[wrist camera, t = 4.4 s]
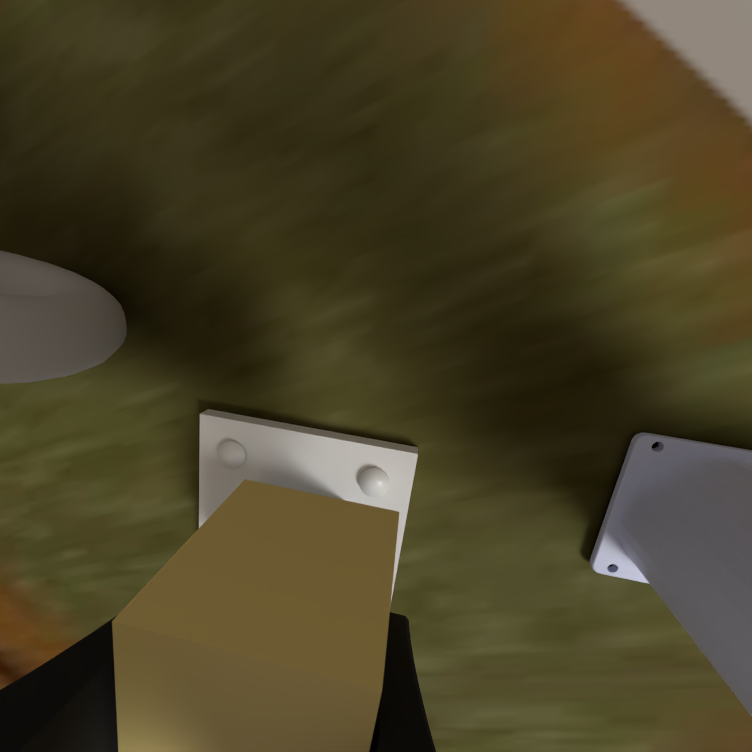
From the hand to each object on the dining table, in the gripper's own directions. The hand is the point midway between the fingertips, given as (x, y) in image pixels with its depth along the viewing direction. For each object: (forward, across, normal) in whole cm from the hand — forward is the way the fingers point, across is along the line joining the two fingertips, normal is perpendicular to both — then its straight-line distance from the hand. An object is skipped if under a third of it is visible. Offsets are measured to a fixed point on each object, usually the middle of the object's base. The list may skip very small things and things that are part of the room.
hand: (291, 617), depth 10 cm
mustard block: (+2, 0, 0) cm, 2 cm away
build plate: (+10, +3, +5) cm, 11 cm away
